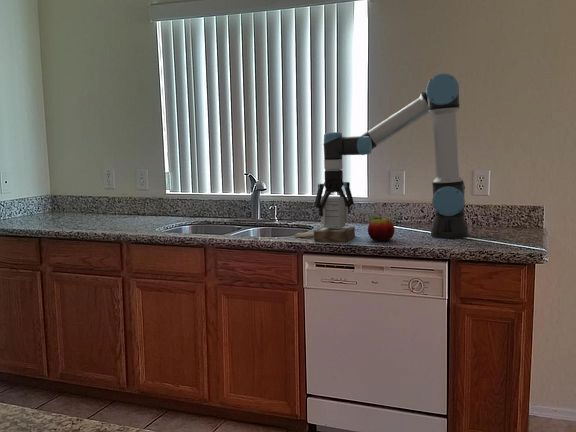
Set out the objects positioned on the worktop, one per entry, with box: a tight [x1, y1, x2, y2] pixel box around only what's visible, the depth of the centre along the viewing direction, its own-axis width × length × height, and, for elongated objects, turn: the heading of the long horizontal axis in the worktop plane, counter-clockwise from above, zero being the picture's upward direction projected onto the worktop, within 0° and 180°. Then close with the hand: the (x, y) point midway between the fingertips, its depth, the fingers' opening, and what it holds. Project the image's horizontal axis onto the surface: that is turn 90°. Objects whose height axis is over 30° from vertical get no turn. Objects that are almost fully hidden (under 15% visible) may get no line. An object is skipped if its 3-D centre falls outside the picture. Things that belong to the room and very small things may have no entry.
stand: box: [313, 225, 356, 243], centre depth 232 cm, size 14×14×4 cm
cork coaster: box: [294, 231, 314, 238], centre depth 241 cm, size 10×10×1 cm
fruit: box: [367, 215, 395, 243], centre depth 224 cm, size 11×11×10 cm
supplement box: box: [323, 196, 346, 229], centre depth 231 cm, size 7×7×13 cm
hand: (334, 222), depth 232 cm, fingers closed on supplement box, 10 cm apart
